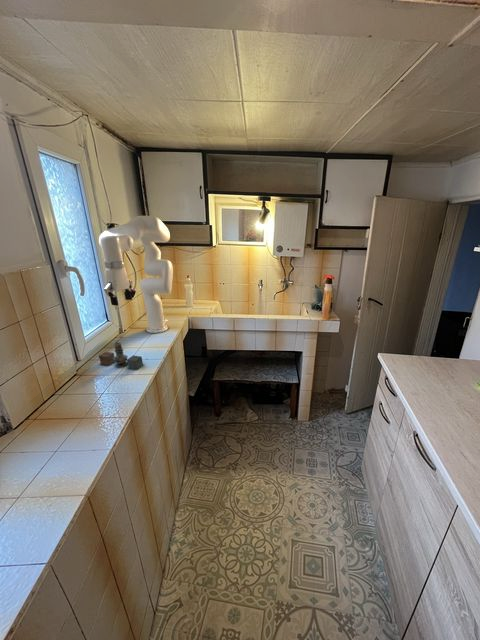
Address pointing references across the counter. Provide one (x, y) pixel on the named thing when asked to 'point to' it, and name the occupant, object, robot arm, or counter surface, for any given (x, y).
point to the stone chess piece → (120, 356)
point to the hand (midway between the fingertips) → (122, 302)
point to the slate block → (135, 362)
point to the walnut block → (107, 358)
